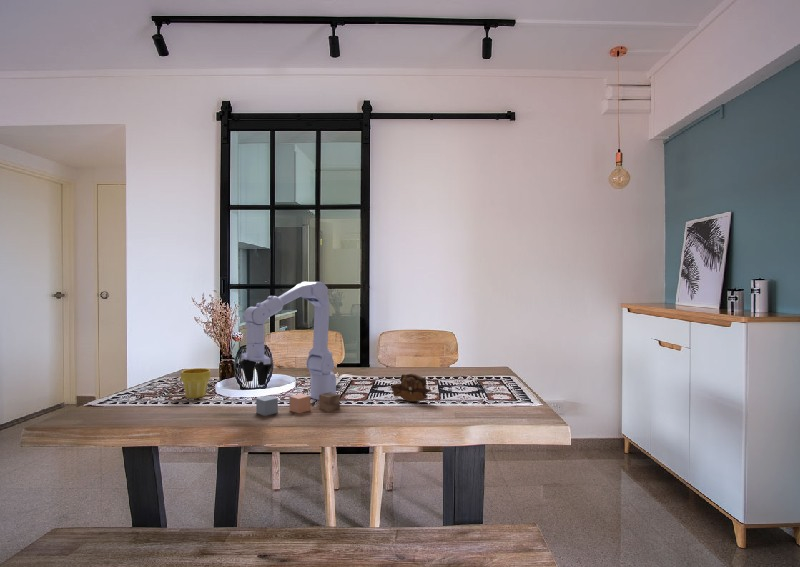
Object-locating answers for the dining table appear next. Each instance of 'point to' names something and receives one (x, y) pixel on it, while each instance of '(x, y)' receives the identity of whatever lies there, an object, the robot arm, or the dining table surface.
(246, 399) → the dining table surface
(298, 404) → the terracotta block
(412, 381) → the wooden carving
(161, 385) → the dining table surface
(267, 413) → the slate block
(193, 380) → the plant pot
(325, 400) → the walnut block
